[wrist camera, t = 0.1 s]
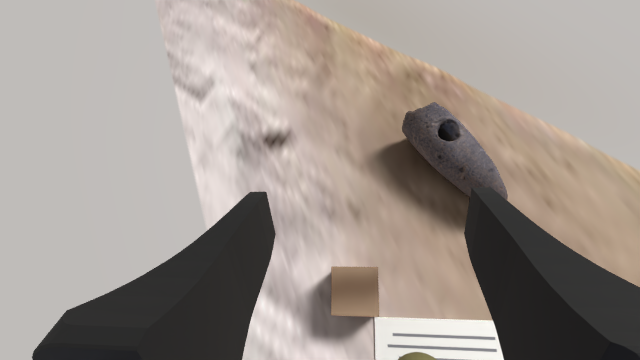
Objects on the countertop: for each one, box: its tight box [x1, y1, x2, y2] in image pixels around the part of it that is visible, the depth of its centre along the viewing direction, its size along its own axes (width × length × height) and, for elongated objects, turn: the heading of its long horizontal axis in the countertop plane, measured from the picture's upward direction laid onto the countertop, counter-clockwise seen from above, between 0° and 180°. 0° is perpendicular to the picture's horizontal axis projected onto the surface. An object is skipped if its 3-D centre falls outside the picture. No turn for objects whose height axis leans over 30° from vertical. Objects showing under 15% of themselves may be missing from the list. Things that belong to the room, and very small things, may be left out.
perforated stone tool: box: [402, 102, 508, 200], centre depth 42 cm, size 15×5×7 cm, turn 36°
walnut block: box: [331, 267, 379, 317], centre depth 40 cm, size 5×5×5 cm
